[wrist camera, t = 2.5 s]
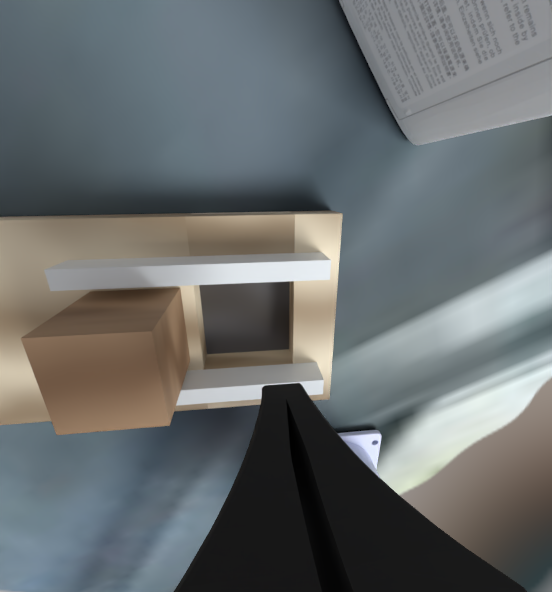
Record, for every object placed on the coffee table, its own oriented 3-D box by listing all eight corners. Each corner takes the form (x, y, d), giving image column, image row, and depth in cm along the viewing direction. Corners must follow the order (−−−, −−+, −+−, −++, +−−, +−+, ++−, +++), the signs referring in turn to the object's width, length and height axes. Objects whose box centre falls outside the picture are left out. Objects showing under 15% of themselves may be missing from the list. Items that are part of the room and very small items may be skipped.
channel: (315, 375, 18) (322, 394, 17) (103, 390, 17) (88, 412, 15) (321, 252, 15) (331, 260, 14) (67, 260, 14) (44, 269, 13)
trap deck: (321, 380, 21) (329, 399, 19) (-2, 403, 19) (-29, 427, 17) (331, 210, 17) (342, 213, 15) (-85, 218, 15) (-133, 222, 13)
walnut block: (190, 360, 17) (169, 425, 12) (109, 365, 17) (57, 434, 12) (180, 287, 15) (152, 331, 11) (90, 291, 15) (20, 338, 10)
